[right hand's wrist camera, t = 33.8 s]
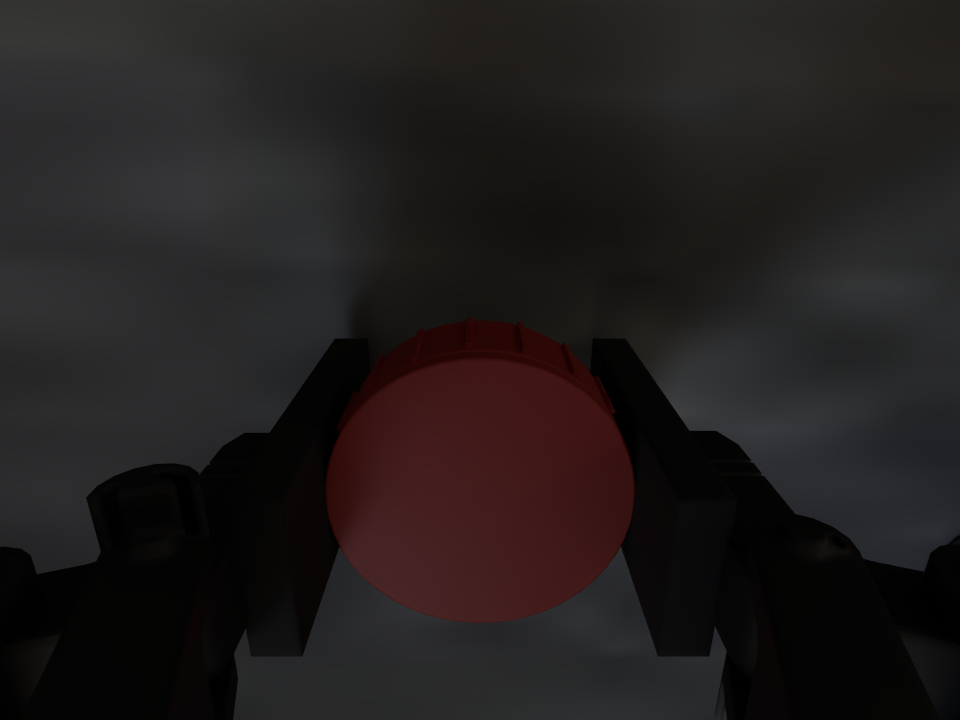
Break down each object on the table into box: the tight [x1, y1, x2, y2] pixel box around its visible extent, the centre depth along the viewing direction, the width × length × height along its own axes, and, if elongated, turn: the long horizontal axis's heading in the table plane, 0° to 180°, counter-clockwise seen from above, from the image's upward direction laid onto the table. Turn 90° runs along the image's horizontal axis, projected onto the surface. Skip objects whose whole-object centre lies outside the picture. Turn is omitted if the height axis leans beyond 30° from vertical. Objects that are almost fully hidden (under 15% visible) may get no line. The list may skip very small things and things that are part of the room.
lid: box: [325, 317, 635, 623], centre depth 11 cm, size 5×6×2 cm
